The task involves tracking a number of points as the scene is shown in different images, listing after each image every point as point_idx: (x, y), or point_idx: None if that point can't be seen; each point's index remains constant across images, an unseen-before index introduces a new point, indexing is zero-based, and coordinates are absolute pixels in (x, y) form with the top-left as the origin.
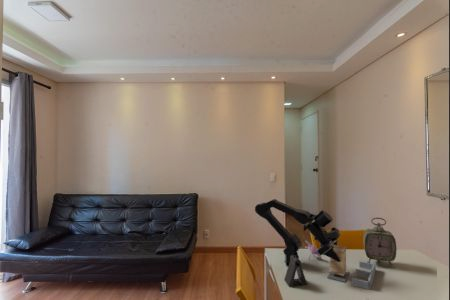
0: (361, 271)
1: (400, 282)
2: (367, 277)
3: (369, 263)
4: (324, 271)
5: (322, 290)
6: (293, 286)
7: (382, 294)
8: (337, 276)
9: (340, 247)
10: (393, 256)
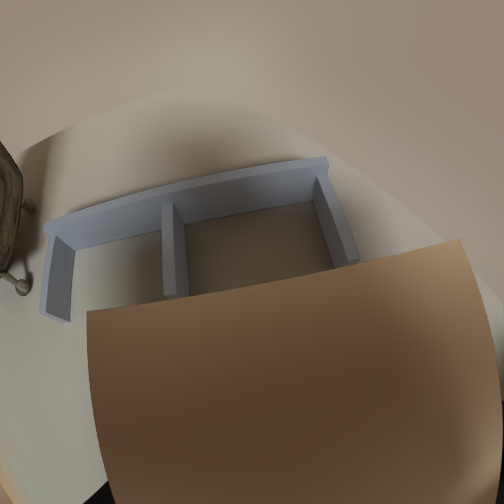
0: (175, 257)
1: (147, 142)
2: (184, 238)
3: (50, 255)
4: None
5: (498, 351)
6: None
7: (314, 149)
8: None
9: (259, 447)
10: (12, 166)
